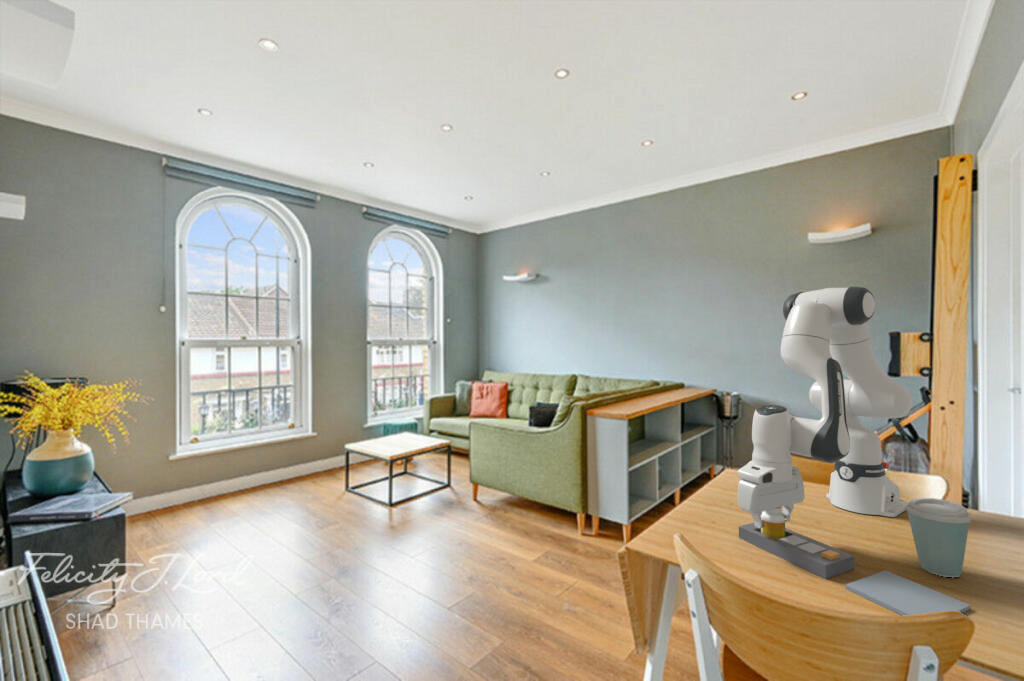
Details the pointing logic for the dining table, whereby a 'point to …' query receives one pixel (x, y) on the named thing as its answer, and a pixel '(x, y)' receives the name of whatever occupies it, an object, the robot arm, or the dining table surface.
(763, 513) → the supplement bottle
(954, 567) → the disposable coffee cup
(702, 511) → the dining table surface
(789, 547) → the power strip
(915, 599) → the mat
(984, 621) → the dining table surface
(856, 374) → the robot arm
